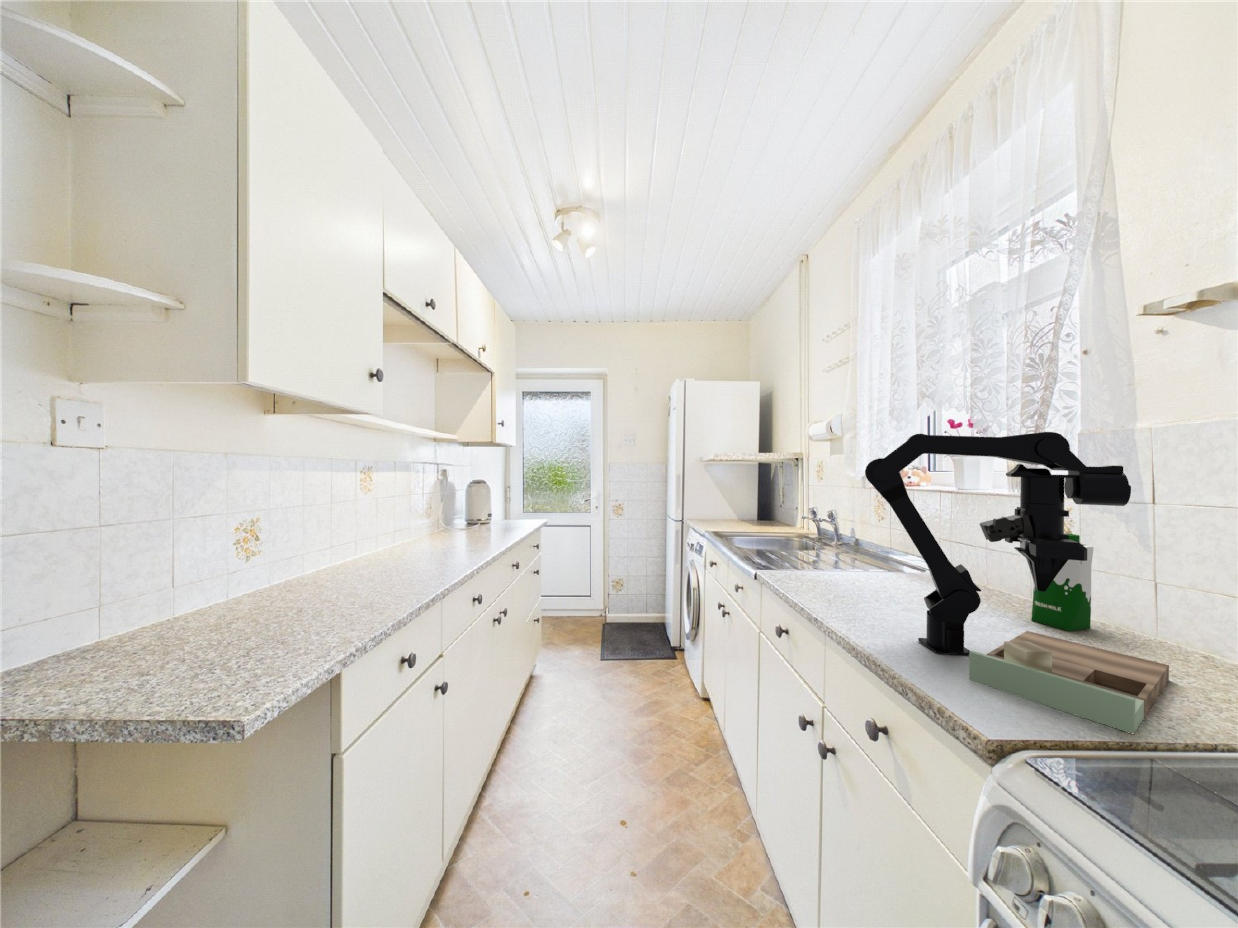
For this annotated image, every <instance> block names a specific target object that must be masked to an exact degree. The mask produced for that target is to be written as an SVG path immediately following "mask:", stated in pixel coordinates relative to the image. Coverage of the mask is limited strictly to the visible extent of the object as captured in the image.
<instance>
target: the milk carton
mask: <svg viewBox="0 0 1238 928" xmlns="http://www.w3.org/2000/svg"><path fill="white" fill-rule="evenodd" d="M1064 534H1067V535H1069V540H1073V541H1076V542H1079V543H1080V539H1081V538H1080V537H1081V536H1080V535H1079V534H1076V533H1075V534H1074V533H1066V532H1064ZM1081 544H1082V545H1083V546H1084V547H1085V548H1087V561H1079V560H1068V561H1067V562H1066V564H1065V565H1064V566H1063V568H1062V569H1061V570H1060V571H1059V573H1058V574H1057V576H1056V577H1055V578H1054V580H1053V581H1052V583H1051V584H1050V586H1049V587H1048V589H1047V590H1046V591H1045V592H1043V591H1038V590H1036V587H1035V584H1034V581H1033V580H1032V583H1033V584H1032V586H1033V587H1032V607H1031V621H1032V622H1035V623H1039V624H1043V625H1046V626H1050V627H1053V628H1057V629H1060V630H1064V631H1065V632H1066V631H1068V632H1073V631H1081V630H1086V629H1091V621H1092V620H1091V618H1092V617H1091V615H1092V564H1093V556H1094V555H1093V554H1094V548H1095V547H1094V545H1087V544H1083V543H1081Z"/></svg>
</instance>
